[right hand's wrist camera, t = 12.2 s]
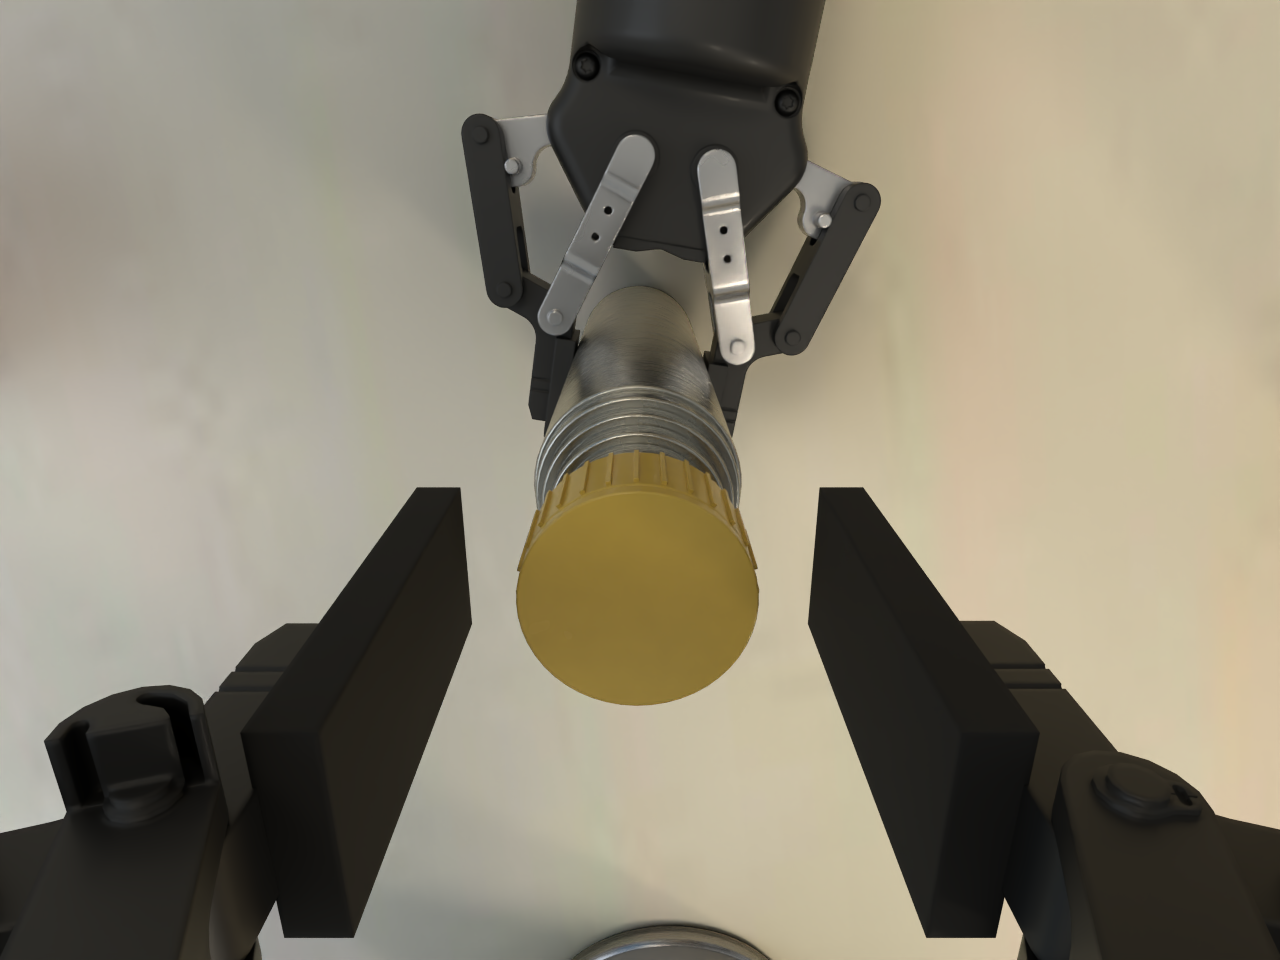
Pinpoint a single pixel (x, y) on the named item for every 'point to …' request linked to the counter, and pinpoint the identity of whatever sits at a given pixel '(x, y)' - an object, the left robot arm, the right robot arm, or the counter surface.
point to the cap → (637, 580)
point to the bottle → (638, 395)
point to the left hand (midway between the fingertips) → (627, 441)
